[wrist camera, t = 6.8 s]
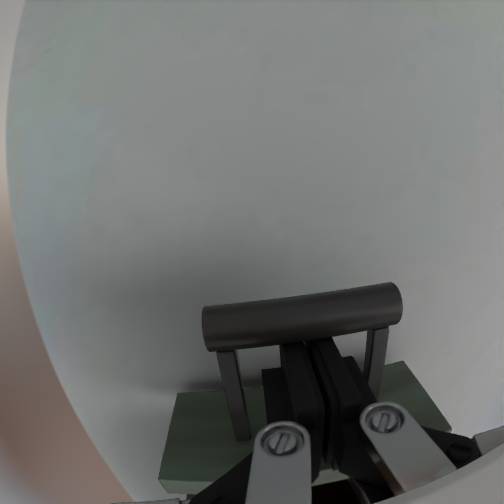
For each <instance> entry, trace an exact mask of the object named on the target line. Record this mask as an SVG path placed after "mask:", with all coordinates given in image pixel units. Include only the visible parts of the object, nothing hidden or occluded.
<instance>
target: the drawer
mask: <svg viewBox="0 0 504 504" xmlns="http://www.w3.org/2000/svg"><path fill="white" fill-rule="evenodd" d="M402 311H403V304H402V298H401V294H400V291H399V289H398V287H397V286H396V285H395V284H394V283H392V282H387V283H381V284H375V285H369V286H363V287H357V288H350V289H344V290H337V291H330V292H323V293H316V294H309V295H301V296H294V297H286V298H278V299H269V300H261V301H252V302H243V303H234V304H224V305H214V306H205V307H204V308H203V310H202V331H203V338H204V343H205V346H206V348H207V350H208V351H209V352H214V351H217V352H216V355H217V359H218V364H219V369H220V373H221V378H222V383H223V387H224V391H209V392H183V393H177V398H176V402H175V406H174V410H173V414H172V419H171V423H170V427H169V431H168V436H167V440H166V445H165V449H164V454H163V458H162V463H161V468H160V472H159V477H158V480H159V482H160V483H161V484H162V486H163V487H164V489H165V490H166V491H167V493H177V494H194V496H195V495H196V494H198V493H199V492H201V491H202V490H204V489H205V488H206V487H208V486H209V485H211V484H212V483H213V482H215V481H216V480H217V479H219V478H220V477H221V476H223V475H224V474H225V473H227V472H228V471H229V470H230V469H232V468H233V467H234V466H236V465H237V464H238V463H239V462H241V461H242V460H243V459H244V458H245V457H247V456H248V455H249V454H250V453H252V452H253V449H254V443H255V438H256V436H257V433H258V432H259V431H260V430H261V429H262V428H263V427H265V426H266V425H267V418H266V408H265V399H264V389H263V387H259V388H249V389H243V384H242V378H241V372H240V366H239V360H238V354H237V349H247V348H257V347H265V346H274V345H281V344H289V343H296V342H303V341H310V340H316V339H323V338H329V337H334V336H340V335H346V334H351V333H357V332H362V331H367V341H366V352H365V361H364V369H363V371H361V372H362V374H363V376H364V378H365V379H366V381H367V383H368V385H369V387H370V389H371V390H372V392H373V394H374V396H375V398H376V400H377V402H380V401H390V402H395V403H397V404H399V405H401V406H402V407H404V408H405V409H406V410H407V411H408V412H409V414H410V415H411V416H412V417H413V418H414V419H415V420H416V422H417V423H418V424H419V425H420V426H424V427H428V428H432V429H436V430H440V431H444V432H448V433H451V431H452V428H451V426H450V425H449V423H448V422H447V420H446V419H445V417H444V416H443V415H442V413H441V412H440V410H439V409H438V408H437V406H436V405H435V403H434V402H433V401H432V399H431V398H430V396H429V395H428V394H427V392H426V391H425V389H424V388H423V387H422V385H421V384H420V383H419V381H418V380H417V379H416V377H415V376H414V375H413V373H412V372H411V370H410V369H409V368H408V366H407V365H406V364H405V363H404V361H399V362H395V363H392V364H388V365H384V363H385V356H386V349H387V342H388V334H389V327H388V326H391V325H395V324H397V323H398V322H399V321H400V320H401V317H402ZM311 504H360V502H359V500H358V498H357V496H356V494H355V493H354V491H353V489H352V487H351V485H350V483H349V481H348V478H347V475H345V474H342V473H340V472H339V470H336V471H333V470H332V467H331V463H329V464H325V462H324V459H323V455H322V458H321V465H320V471H319V477H318V478H317V479H316V480H315V481H314V482H313V484H312V485H311Z"/></svg>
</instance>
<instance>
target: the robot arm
mask: <svg viewBox="0 0 504 504" xmlns="http://www.w3.org/2000/svg"><path fill="white" fill-rule="evenodd" d="M279 348H280V361H281V367H279V368H271V369H263V370H262V380H263V389H264V399H265V408H266V418H267V425H266V426H265V427H263V428H262V429H261V430H260V431H259V432H258V433H257V436H256V438H255V443H254V449H253V452H252V453H250V454H249V455H248V456H247V457H245V458H244V459H243V460H242V461H241V462H239V463H238V464H237V465H236V466H234V467H233V468H232V469H230V470H229V471H228V472H227V473H225V474H224V475H223V476H221V477H220V478H219V479H217V480H216V481H215V482H213V483H212V484H211V485H209V486H208V487H206V488H205V489H204V490H202V491H201V492H199V493H198V494H196V495H195V496H194V497H193V498H192V499H189V500H182V501H180V499H179V498H176V499H168V500H157V501H144V502H118V503H112V504H311V485H312V484H313V482H314V481H315V480H316V479H317V478H318V477H319V471H320V465H321V458H322V455H323V459H324V462H325V464H329V463H331V467H332V470H333V471H336V470H339V472H340V473H342V474H345V475H347V478H348V481H349V483H350V485H351V487H352V489H353V491H354V493H355V494H356V496H357V498H358V500H359V502H360V504H504V426H501V427H499V428H496V429H492V430H489V431H486V432H483V433H479V434H476V435H474V436H473V438H472V439H470V438H468V437H465V436H461V435H457V434H452V433H448V432H444V431H440V430H436V429H432V428H428V427H424V426H420V425H419V424H418V423H417V422H416V420H415V419H414V418H413V417H412V416H411V415H410V414H409V412H408V411H407V410H406V409H405V408H404V407H402V406H401V405H399V404H397V403H395V402H390V401H380V402H377V400H376V398H375V396H374V394H373V392H372V390H371V389H370V387H369V385H368V383H367V381H366V379H365V378H364V376H363V374H362V372H361V370H360V368H359V367H358V365H357V363H356V361H355V359H354V358H353V357H352V356H347V357H341V355H340V353H339V351H338V349H337V347H336V345H335V343H334V341H333V339H332V337H329V338H323V339H316V340H310V341H304V342H296V343H289V344H281V345H279Z"/></svg>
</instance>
